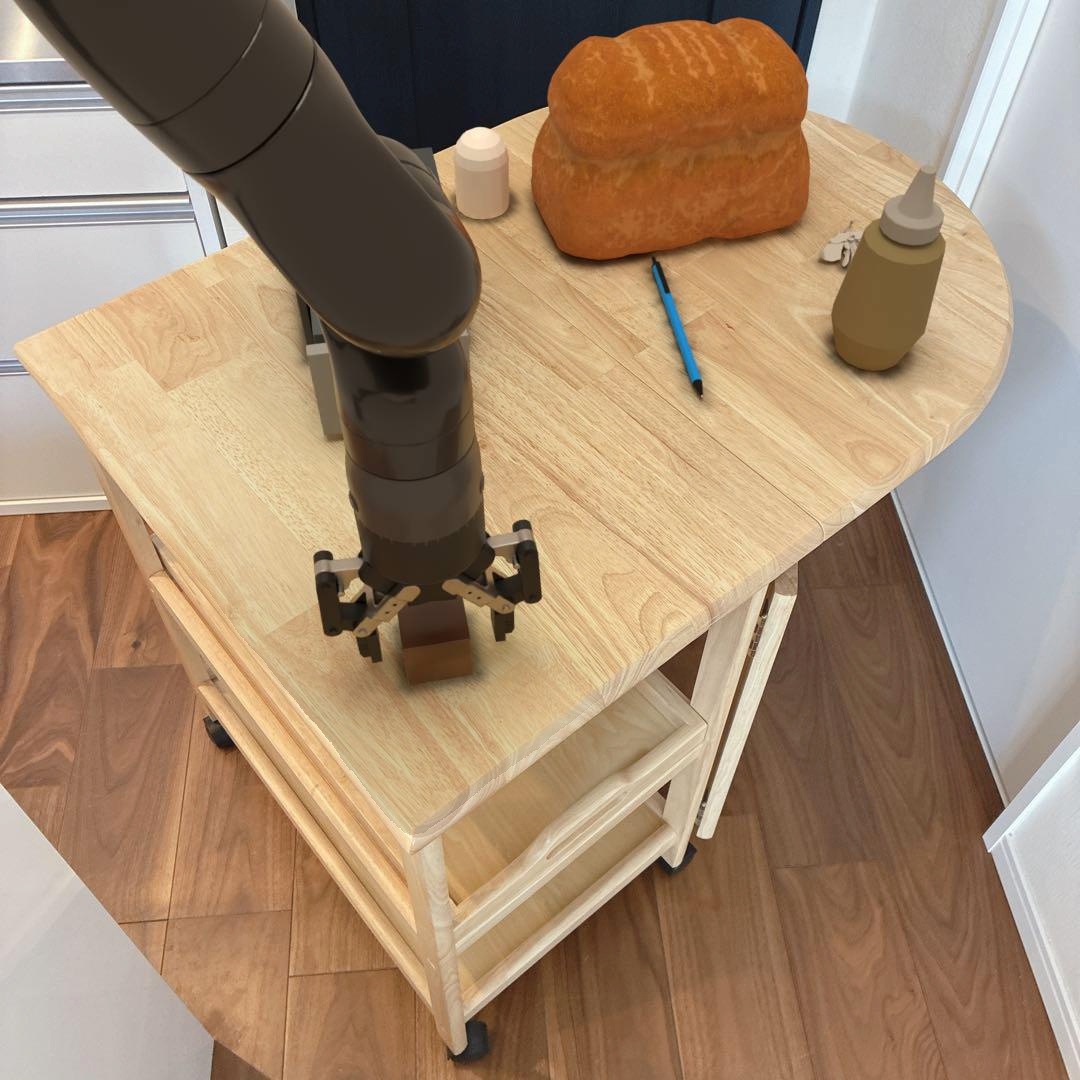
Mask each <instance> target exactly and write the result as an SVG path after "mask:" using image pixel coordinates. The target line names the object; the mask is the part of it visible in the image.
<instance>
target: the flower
mask: <svg viewBox="0 0 1080 1080" xmlns="http://www.w3.org/2000/svg"><path fill="white" fill-rule="evenodd" d="M856 221H857V219H854V220H853V219H849V225H848V226H847V227H846V228H845V229H844V232H841V231H840V230H838V231H837V234H836V236H835V237H832V238H831V237H830V238H827V241H828V243H827V245H826V246H825V247H824V248H822V250H821V251H820V252H819V253H818V254H817V256H818V257H820V258H821V259H822V260H824V261H828V262H835V261H838V260H841V259H842V254H843V255H844V258H843V260H842V263H841V265H842V267H843V268H845V267H846V266H847V265H848V264H849V262H851V261H852V259H853V256H854V254H855V252H856V249H857V247H858V245H859V242H860V240H861V237H862V235H863V233H864V231H862V230H861V229H860V228H857V230H856V231H852V229H851V228H852V226H853V225H854V223H855V222H856ZM843 248H845V249H844V250H843ZM842 251H843V252H842ZM850 256H851V257H850Z"/></svg>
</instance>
